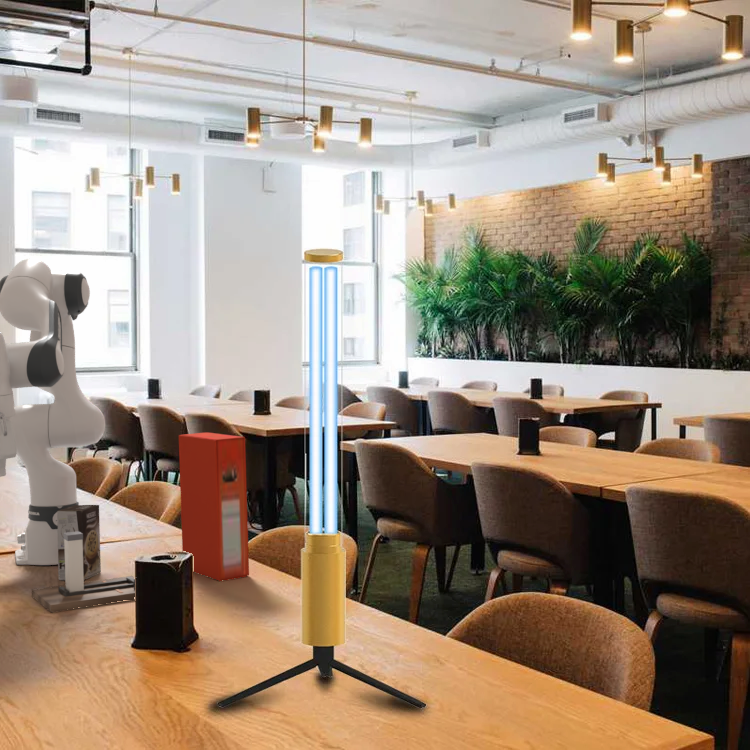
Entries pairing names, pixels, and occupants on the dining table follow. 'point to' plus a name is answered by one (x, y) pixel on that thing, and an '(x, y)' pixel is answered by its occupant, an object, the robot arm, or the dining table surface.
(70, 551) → the fader tab
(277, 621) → the dining table surface
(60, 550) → the coffee box
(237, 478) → the file binder
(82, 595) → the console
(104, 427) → the robot arm
